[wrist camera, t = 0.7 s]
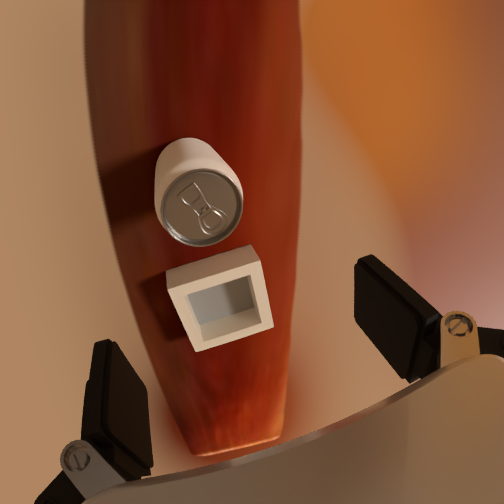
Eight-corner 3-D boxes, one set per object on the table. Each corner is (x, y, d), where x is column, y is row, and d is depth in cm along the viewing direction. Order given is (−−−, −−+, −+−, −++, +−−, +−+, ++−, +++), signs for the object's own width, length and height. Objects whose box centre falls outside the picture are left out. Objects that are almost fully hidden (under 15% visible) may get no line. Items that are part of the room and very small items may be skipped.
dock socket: (165, 270, 36) (167, 289, 33) (250, 244, 37) (260, 260, 34) (191, 332, 41) (195, 352, 38) (264, 308, 43) (273, 326, 40)
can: (182, 209, 33) (195, 268, 23) (142, 165, 29) (133, 205, 19) (230, 171, 32) (266, 214, 22) (193, 124, 29) (212, 142, 19)
